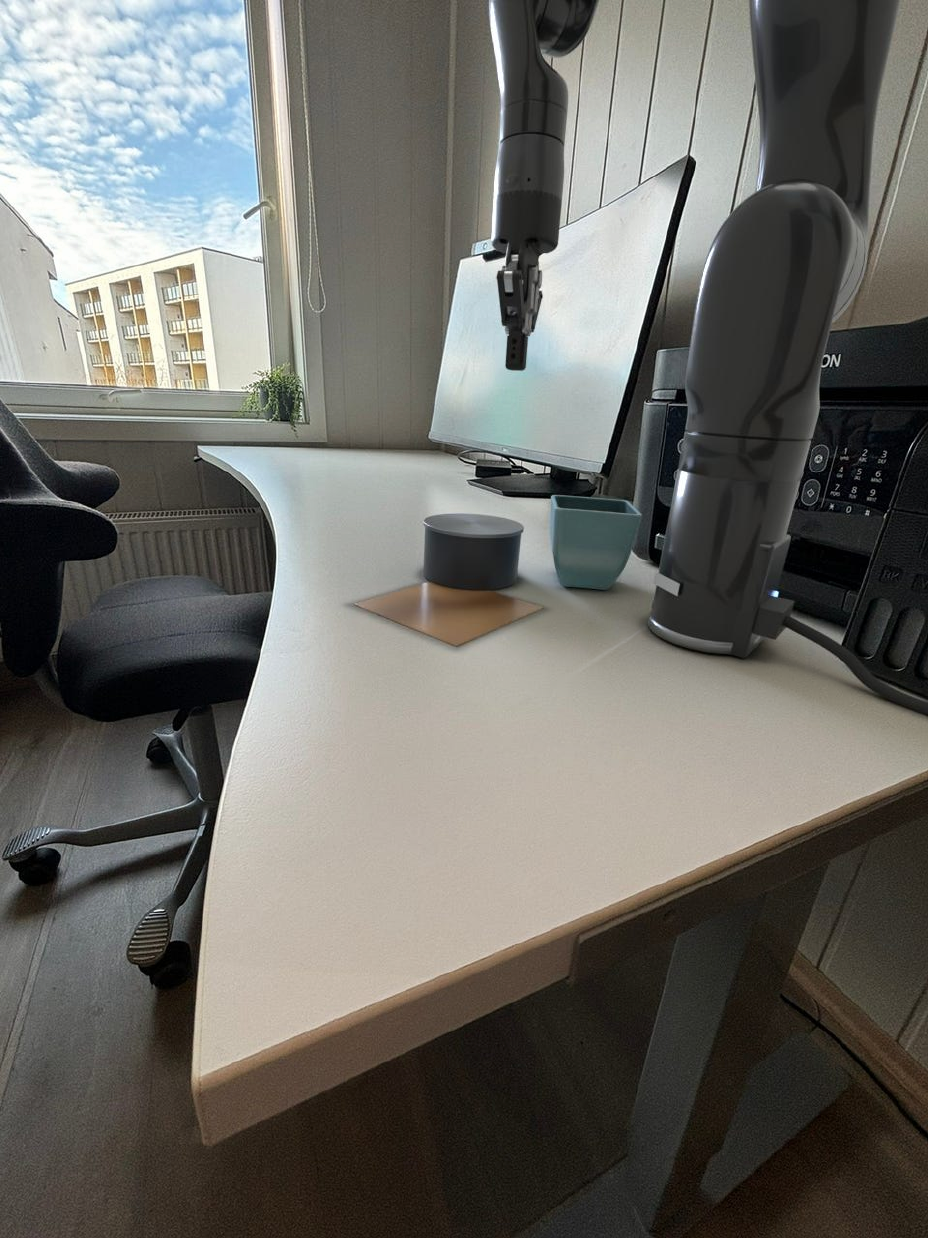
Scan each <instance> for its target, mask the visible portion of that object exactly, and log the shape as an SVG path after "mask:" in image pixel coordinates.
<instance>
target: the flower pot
mask: <svg viewBox="0 0 928 1238" xmlns="http://www.w3.org/2000/svg"><path fill="white" fill-rule="evenodd" d="M642 517H643V514H642V512H640V511H639V510H638V509H637V507H635V506H634V505H633V504H632V503H631V502H630V501H628V500H625V499H613V498H603V497H602V498H600V497H589V496H577V495H576V496H574V495H562V494H552V495H551V496H550V520H549V521H550V525H549V528H550V529H549V536H550V547H551V553H552V558H553V564H554V565H553V566H554V569H555V572H556V576H557V578H558V581H559V584H560V585H561V586H562V587H566V588H578V589H579V588H581V589H591V590H600V591H606V590H609V589H610V588H611V587H612V585H614V584H615V582H616V581H617V580H618V578H619V577H620V576H621V575H622V573H623V571H624V570H625V568H626V566H627V563H628V562H629V559H630V557H631V554H632V551H633V547H634V545H635V540H636V538H637V535H638V531H639V528H640V524H641V521H642Z"/></svg>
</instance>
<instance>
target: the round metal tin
mask: <svg viewBox="0 0 928 1238" xmlns="http://www.w3.org/2000/svg"><path fill="white" fill-rule="evenodd" d="M422 523H423V526H424V545H423V546H424V547H423V577H424V578H426V580H428V582H429V581H431V582H433V583H436V584H439V585H442V586H446V587H451V588H456V589H465V590H490V591H493V590H494V591H495V590H501V589H505V588H508V587H511V586H513V585H514V584H516V583H517V581H518V571H519V561H520V551H521V542H522V534H523V532H524V530H525V529H524V528H525V527H524V525H523V524H522V523H520V522H518V521H516V520H513V519H510V518H507V517H501V516H495V515H489V514H478V513H461V512H460V513H440V514H434V515H430V516H427V517H425V518H424V519H423V521H422Z"/></svg>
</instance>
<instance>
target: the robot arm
mask: <svg viewBox="0 0 928 1238" xmlns="http://www.w3.org/2000/svg"><path fill="white" fill-rule="evenodd" d="M901 1H902V0H748V15H749V32H750V44H751V54H752V64H753V74H754V82H755V90H756V91H755V92H756V98H757V99H756V100H757V111H758V120H759V123H758V124H759V155H758V156H759V157H758V166H757V176H756V182H755V191H754V192H753V193H752V194H751V195H749V196H747V197H746V198H745V199H743V200H742V201H741V202H740V203H739V204H738V205H737V206H736V207H735V208H734V209H733V210H732V211H731V213H729V215H728V216H727V217H726V218H725V220H724V222H723V223H722V225H720V227H719V230H717V233H716V234H715V236H714V238H713V240H712V243H711V245H710V247H709V250H708V253H707V255H706V258H705V261H704V265H703V269H702V272H701V276H700V281H699V285H698V291H697V296H696V303H695V309H694V316H693V317H694V318H693V323H692V330H691V337H690V344H689V351H688V352H689V353H688V358H687V363H686V364H687V365H686V372H685V384H684V385H685V387H684V388H685V396H686V404H687V416H686V423H685V431H684V435H683V439H682V445H681V450H680V454H679V460H678V466H677V471H676V476H675V481H674V486H673V493H672V498H671V503H670V507H669V513H668V519H667V525H666V530H665V535H664V540H663V546H662V551H661V557H660V562H659V568H658V572H657V571H655V573H654V578H653V585H655V590H654V594H653V595H654V596H653V600H652V604H651V609H650V611H649V615H648V621H647V625H648V628H649V630H651V632H652V633H654V634H655V635H656V636H657V637H659V638H661V639H663V640H664V641H667V642H668V643H671V644H674V645H676V646H679V647H682V648H686V649H690V650H694V651H698V652H704V653H711V654H722V655H730V656H735V657H738V658H741V659H745V658H748V656H749V655H750V654H751V653H752V652H753V651H754V650H755V649H757V648H758V647H759V644H760V643H761V642H762V641H763V640H765V638H767V639H771V640H774V641H775V640H776V639H777V638H778V637H779V636H780V635H781V634H782V633H783V632H784V631H785V629H788V630H790V631H792V632H794V633H796V634H798V635H800V636H802V637H804V638H805V639H806V640H808V641H811V642H813V643H814V644H816V645H818V646H820V647H821V648H823V649H825V650H826V651H828V652H829V653H831V654H832V655H834V657H836V658H838V659H839V660H840V661H841V662H843V664H844V665H845V666H846V667H847V668H848V669H849V671H850V672H851V673H852V674H853V675H854V676H855V677H856V678H857V680H859V682H860V683H861V684H862V685H864V686H865V687H866V688H868V689H869V690H870V691H872V692H874V693H876V694H877V695H879V696H881V697H882V698H885V699H886V700H888V701H890V702H893V703H894V704H896V705H900V706H902V707H904V708H906V709H909V710H911V711H914V712H917V713H919V714H923V715H926V716H928V701H926V700H923V699H920V698H917V697H915V696H912V695H910V694H907V693H905V692H903V691H900V690H898V689H896V688H894V687H892V686H891V685H889V684H887V683H885V682H883V681H881V680H880V679H879V678H877V677H875V676H874V675H873V674H872V673H871V672H870V671H869V670H868V669H867V668H866V667H865V665H864V664H863V663H862V662H861V661H860V660H859V658H858V657H856V656H855V654H853V653H852V652H851V651H850V650H849V649H848V648H846V647H845V646H843V645H842V644H840V643H839V642H837V641H836V640H834V639H832V638H831V637H829V636H828V635H826V634H824V633H822V632H821V631H819V630H817V629H815V628H813V627H811V626H809V625H807V624H805V623H804V622H802V621H799V620H798V619H796V618H795V617H793V616H791V615H792V612H793V608H794V606H795V605H794V604H795V600H792V599H788V598H783V597H779V591H778V589H779V584H780V582H781V581H780V580H781V577H782V573H783V570H784V566H785V562H786V559H787V555H788V551H789V548H790V544H791V540H792V536H791V534H788V529H789V525H790V521H791V518H792V514H793V510H794V507H795V503H796V499H797V497H798V492H799V488H800V484H801V480H802V477H803V473H804V469H805V466H806V462H807V459H808V454H809V451H810V446H811V443H812V441H811V440H812V439H813V436H814V433H815V430H816V425H817V421H818V418H819V414H820V409H821V408H820V407H821V400H820V384H821V383H820V382H821V373H822V366H823V361H824V356H825V353H826V349H827V345H828V341H829V337H830V333H831V328H832V324H834V323H836V321H837V320H838V319H839V318H840V317H841V316H842V314H843V313H844V312H845V311H846V309H848V307H849V306H850V304H851V303H852V302H853V299H854V298H855V296H856V294H857V293H858V291H859V288H860V286H861V284H862V282H863V280H864V276H865V273H866V268H867V263H868V252H869V250H868V249H869V223H870V220H869V219H870V200H871V199H870V197H871V196H870V194H871V181H872V167H873V165H872V164H873V154H874V153H873V152H874V151H873V150H874V141H875V132H876V131H875V130H876V122H877V114H878V108H879V101H880V96H881V91H882V87H883V82H884V77H885V72H886V68H887V65H888V60H889V55H890V51H891V47H892V42H893V38H894V35H895V34H894V33H895V30H896V24H897V19H898V17H899V16H898V15H899V11H900V5H901ZM599 3H600V0H488V19H489V29H490V33H491V41H492V47H493V53H494V59H495V67H496V74H497V80H498V88H499V92H500V115H499V116H500V117H499V136H498V137H499V138H498V149H497V158H496V163H495V168H494V169H495V171H494V181H493V182H494V184H493V202H492V203H493V205H492V220H491V221H492V222H491V237H490V238H491V241H490V242H491V246H492V247H493V249H494V250H496V251H497V252H500V253H503V254H505V258H504V265H502V266H501V270H497V272H496V273H497V274H496V282H497V291H498V292H497V293H498V302H499V311H500V317H501V318H500V321H501V326H502V327H504V332H505V335H506V348H505V365H504V366H505V369H506V370H508V371H516V372H518V371H519V372H523V371H525V370H526V368H527V360H528V359H527V358H528V344H529V337H531V334H532V333H534V332H535V329H536V324H537V321H538V317H539V313H540V308H541V306H542V305H541V304H542V301H543V298H544V294H543V291H542V290H540V289H541V288H542V286H543V285H542V284H543V270H542V269H540V261H539V259H540V257H541V256H542V255H543V254H550V253H552V252H553V251H556V250H557V247H558V245H559V239H560V229H561V228H560V227H561V215H562V205H563V204H562V203H563V193H564V182H565V145H566V144H565V143H566V132H567V121H568V113H569V112H568V110H569V88H568V84H567V81H566V80H565V78H564V77H563V76H562V75H561V74H560V73H559V72H558V71H557V70H556V69H554V68H553V67H552V66H551V65H550V64H549V62H547V60H545V57H544V56H547V57H549V58H553V59H562V58H565V57H567V56H569V55H570V54H571V53H573V52H575V50H576V49H577V48H578V47H579V46H580V45H581V44H582V42H583V41H584V39H586V37H587V35H588V33H589V30H590V29H591V26H592V23H593V20H594V18H595V15H596V12H597V9H598V6H599ZM543 55H544V56H543Z"/></svg>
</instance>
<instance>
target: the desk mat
mask: <svg viewBox="0 0 928 1238" xmlns="http://www.w3.org/2000/svg"><path fill="white" fill-rule="evenodd" d="M353 606H356V607H358V608H359V609H362V610H365V611H368V612H369V613H372V614H375V615H377V616H379V617H382V618H385V619H387V620H389V621H391V622H395V623H397V624H399V625H402V626H404V627H407V628H409V629H411V630H414V631H416V632H418V633H422V634H424V635H426V636H429V637H431V638H433V639H436V640H438V641H441V642H443V643H446V644H448V645H451V646H452V647H455V648H456V647H459V646H461V645H465V644H466V643H468V642H471V641H473V640H475V639H477V638H480V637H483V636H484V635H486V634H487V635H488V634H489V633H491V632H494V631H496V630H497V629H500V628H502V627H505V626H507V625H510V624H511V623H513V622H516V621H518V620H520V619H523V618H525V617H527V616H530V615H532V614H535V613H537V612H540V611H541V610H543V609H544V607H543V606H541V605H537V604H534V603H530V602H527V601H524V600H522V599H517V598H514V597H511V596H508V595H505V594H502V593H499V592H495V591H493V590H465V589H456V588H451V587H446V586H442V585H439V584H436V583H433V582H431V581H429V580H428V581H426V582H423V583H420V584H416V585H413V586H410V587H407V588H403V589H400V590H397V591H392V592H389V593H387V594H383V595H380V596H376V597H372V598H369V599H366V600H362V601H360V602H356V603H353Z"/></svg>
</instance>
